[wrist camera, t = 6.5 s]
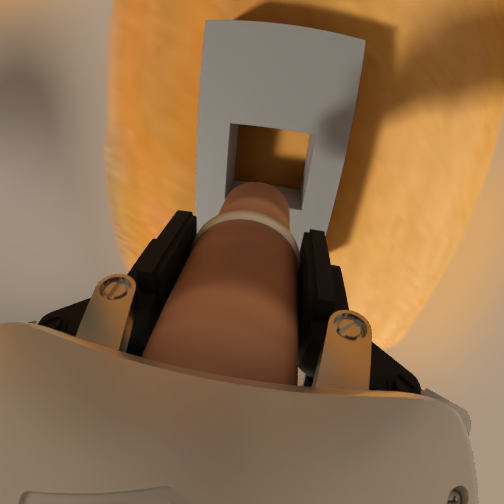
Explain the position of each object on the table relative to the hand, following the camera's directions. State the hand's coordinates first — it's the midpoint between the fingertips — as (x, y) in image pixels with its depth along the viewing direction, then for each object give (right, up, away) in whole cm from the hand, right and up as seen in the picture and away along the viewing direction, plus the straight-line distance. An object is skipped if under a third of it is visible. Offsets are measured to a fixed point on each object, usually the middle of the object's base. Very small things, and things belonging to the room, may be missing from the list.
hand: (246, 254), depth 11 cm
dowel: (0, +2, +3) cm, 4 cm away
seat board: (+2, +8, +11) cm, 14 cm away
